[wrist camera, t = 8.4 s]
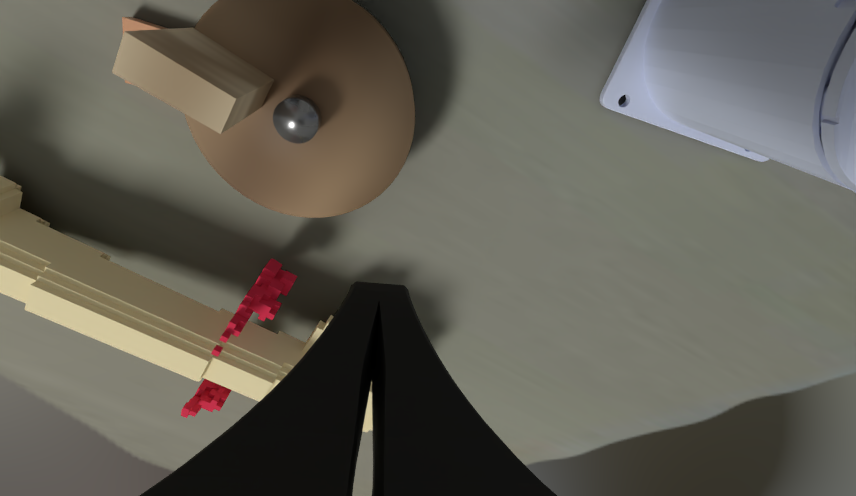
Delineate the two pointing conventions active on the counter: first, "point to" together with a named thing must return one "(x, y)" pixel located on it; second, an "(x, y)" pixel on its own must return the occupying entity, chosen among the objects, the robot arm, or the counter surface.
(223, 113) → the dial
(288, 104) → the pivot pin
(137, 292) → the toy vehicle
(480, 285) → the counter surface
